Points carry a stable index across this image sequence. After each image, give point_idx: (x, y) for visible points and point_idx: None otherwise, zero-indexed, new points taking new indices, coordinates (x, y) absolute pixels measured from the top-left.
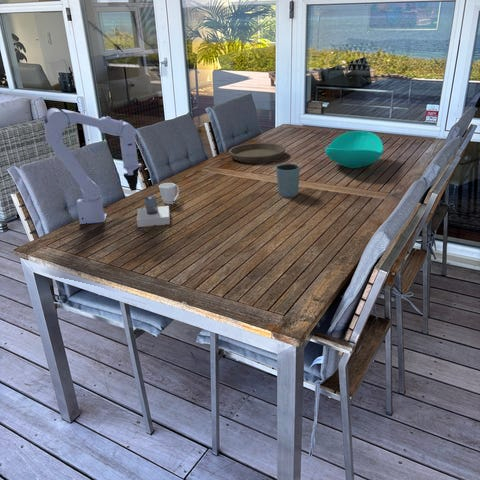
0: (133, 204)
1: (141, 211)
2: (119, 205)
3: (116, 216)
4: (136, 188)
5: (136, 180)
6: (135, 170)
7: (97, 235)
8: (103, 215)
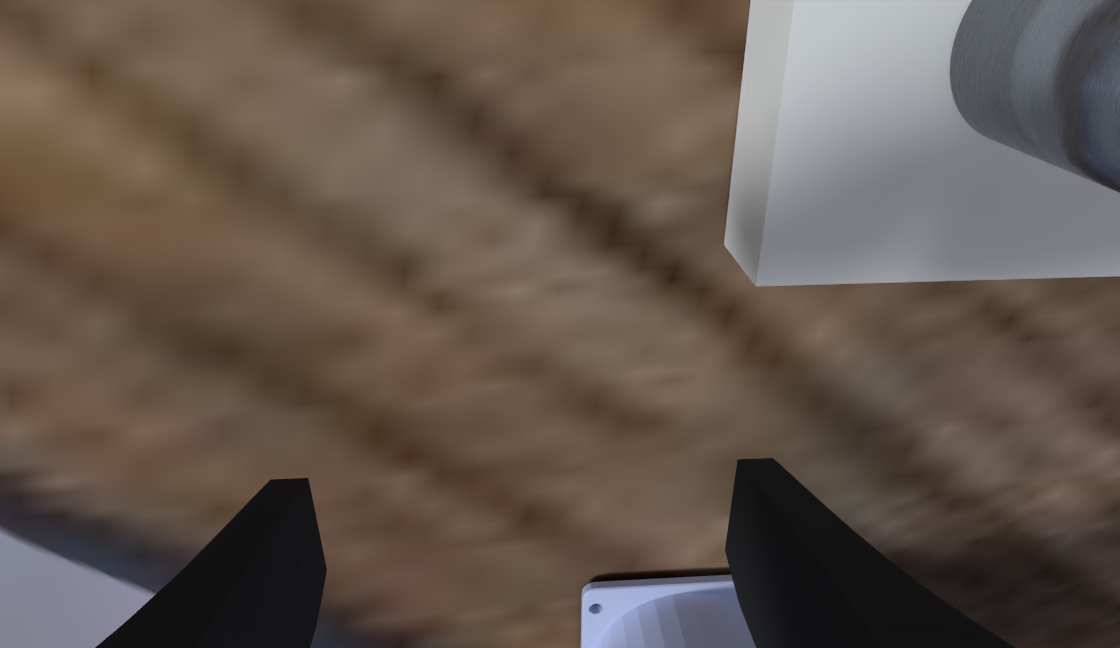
0: (267, 350)
1: (910, 230)
2: None
3: (659, 489)
4: (775, 475)
5: (1006, 644)
6: None
7: (1085, 574)
8: (727, 620)
